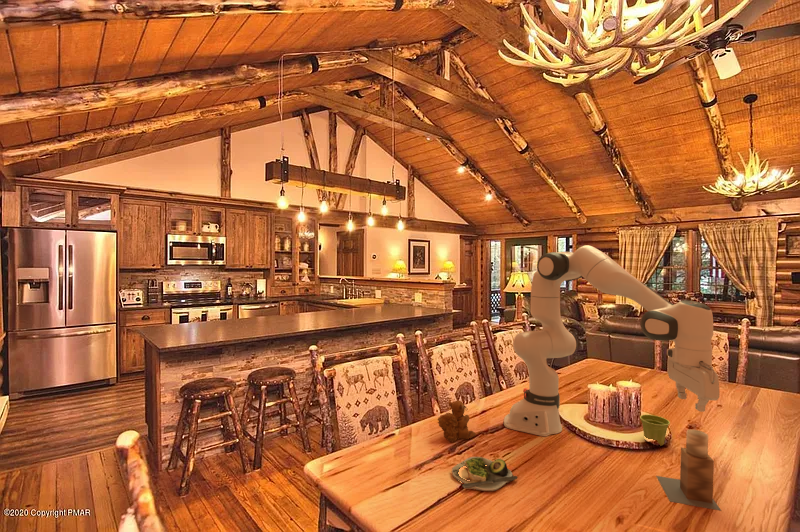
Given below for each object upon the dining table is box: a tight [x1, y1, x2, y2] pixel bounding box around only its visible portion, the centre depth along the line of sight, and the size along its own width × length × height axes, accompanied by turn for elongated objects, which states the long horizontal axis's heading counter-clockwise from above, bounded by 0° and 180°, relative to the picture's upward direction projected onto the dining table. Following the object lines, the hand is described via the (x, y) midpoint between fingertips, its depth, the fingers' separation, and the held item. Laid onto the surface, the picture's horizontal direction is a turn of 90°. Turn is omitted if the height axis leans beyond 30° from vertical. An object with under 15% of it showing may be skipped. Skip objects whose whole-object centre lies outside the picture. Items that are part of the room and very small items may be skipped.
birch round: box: [685, 428, 709, 458], centre depth 114 cm, size 5×5×6 cm
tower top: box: [680, 447, 715, 483], centre depth 115 cm, size 6×6×6 cm
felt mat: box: [655, 475, 722, 512], centre depth 116 cm, size 12×14×1 cm
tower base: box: [679, 468, 714, 503], centre depth 115 cm, size 6×6×6 cm
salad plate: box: [451, 456, 519, 492], centre depth 123 cm, size 19×18×5 cm
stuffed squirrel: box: [436, 400, 476, 443], centre depth 151 cm, size 10×14×13 cm
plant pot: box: [639, 414, 671, 447], centre depth 148 cm, size 9×9×9 cm
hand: (690, 404), depth 116 cm, fingers open, 8 cm apart
